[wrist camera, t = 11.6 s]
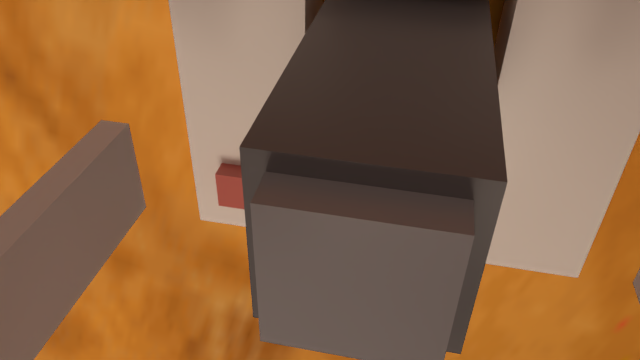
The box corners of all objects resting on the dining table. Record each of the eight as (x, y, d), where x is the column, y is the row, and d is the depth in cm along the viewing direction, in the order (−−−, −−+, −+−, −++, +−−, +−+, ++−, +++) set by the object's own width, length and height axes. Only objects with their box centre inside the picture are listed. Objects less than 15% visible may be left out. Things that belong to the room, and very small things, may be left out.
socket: (732, -210, 15) (798, -203, 12) (567, 228, 25) (581, 292, 22) (179, -226, 18) (122, -223, 15) (223, 180, 27) (193, 231, 24)
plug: (486, -22, 19) (511, 218, 9) (462, 105, 22) (460, 391, 12) (344, -33, 20) (221, 177, 10) (339, 91, 23) (240, 350, 13)
